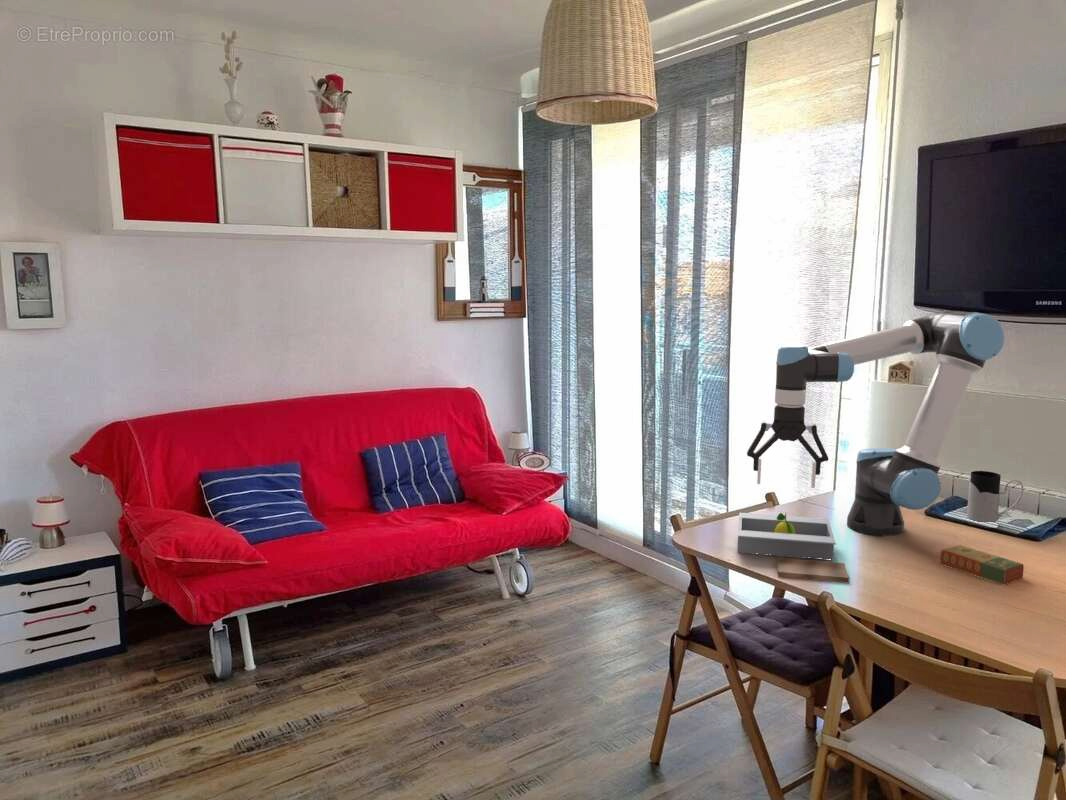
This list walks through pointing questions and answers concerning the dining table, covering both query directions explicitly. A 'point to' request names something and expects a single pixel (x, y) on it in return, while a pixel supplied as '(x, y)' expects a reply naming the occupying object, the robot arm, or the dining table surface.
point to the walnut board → (812, 570)
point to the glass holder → (986, 496)
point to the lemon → (784, 525)
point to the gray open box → (785, 536)
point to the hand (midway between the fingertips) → (785, 484)
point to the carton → (982, 564)
